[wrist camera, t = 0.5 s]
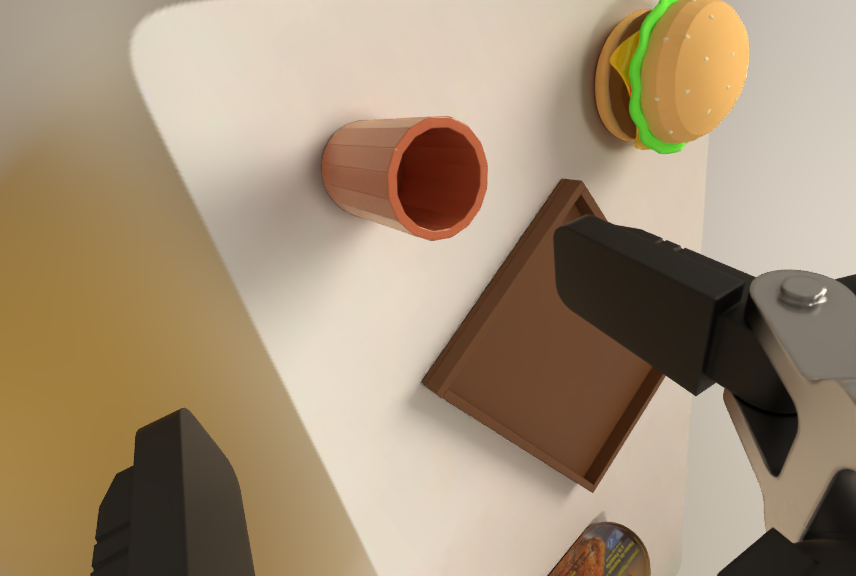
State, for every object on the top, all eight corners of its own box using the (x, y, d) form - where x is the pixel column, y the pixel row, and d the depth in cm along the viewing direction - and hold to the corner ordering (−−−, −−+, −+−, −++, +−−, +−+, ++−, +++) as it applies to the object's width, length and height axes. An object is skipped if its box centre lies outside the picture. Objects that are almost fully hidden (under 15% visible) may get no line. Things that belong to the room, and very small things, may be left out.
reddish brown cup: (301, 175, 27) (363, 189, 20) (360, 99, 27) (439, 88, 21) (370, 233, 30) (442, 262, 23) (420, 165, 31) (505, 173, 24)
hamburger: (603, 179, 41) (700, 188, 34) (563, 49, 35) (673, 28, 28) (678, 104, 44) (781, 98, 37) (654, -29, 38) (774, -66, 31)
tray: (421, 381, 36) (435, 394, 34) (562, 178, 38) (582, 180, 37) (578, 482, 54) (593, 493, 52) (668, 338, 56) (685, 344, 54)
